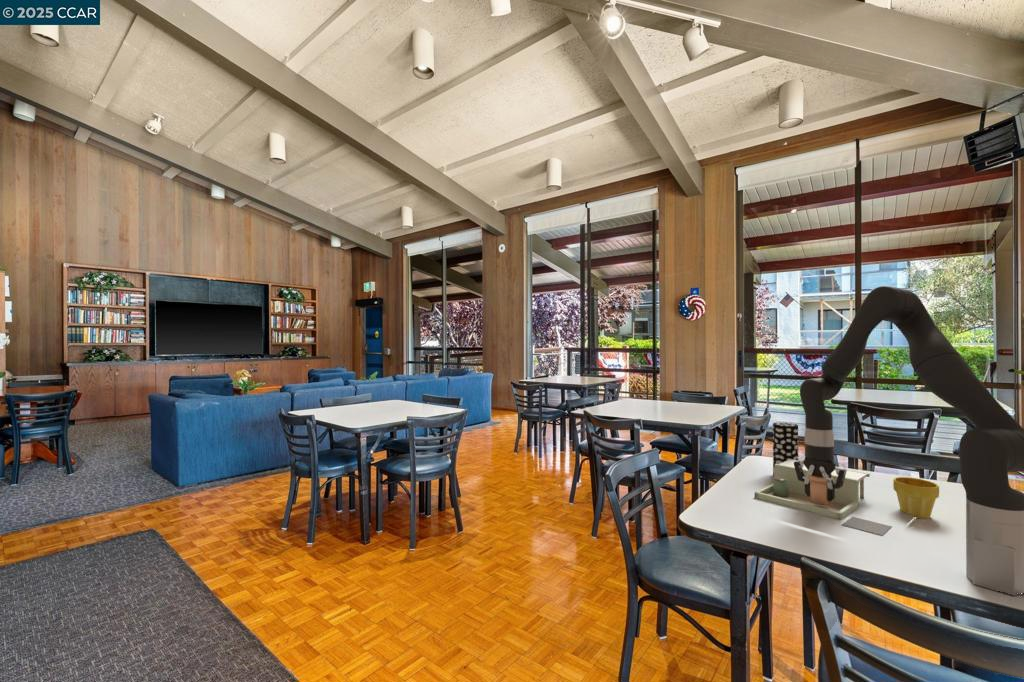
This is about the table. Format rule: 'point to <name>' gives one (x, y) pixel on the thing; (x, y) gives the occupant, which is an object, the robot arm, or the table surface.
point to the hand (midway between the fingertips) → (819, 498)
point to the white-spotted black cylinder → (784, 442)
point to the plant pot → (916, 495)
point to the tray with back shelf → (797, 498)
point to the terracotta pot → (818, 490)
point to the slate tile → (867, 526)
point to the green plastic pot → (780, 487)
